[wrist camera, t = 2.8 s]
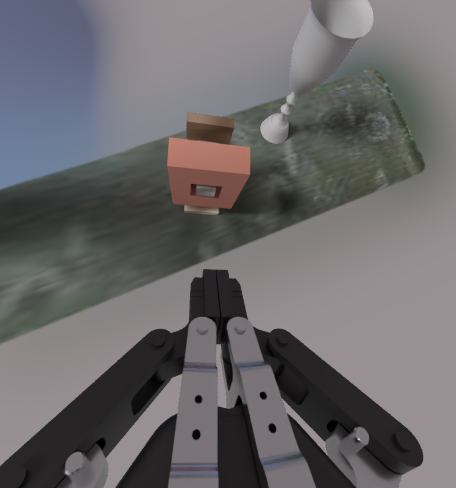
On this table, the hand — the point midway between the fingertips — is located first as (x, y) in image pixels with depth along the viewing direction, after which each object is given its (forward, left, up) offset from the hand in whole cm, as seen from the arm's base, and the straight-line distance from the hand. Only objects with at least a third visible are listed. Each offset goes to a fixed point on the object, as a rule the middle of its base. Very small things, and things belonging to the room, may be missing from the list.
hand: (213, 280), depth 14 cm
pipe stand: (0, +14, -19) cm, 24 cm away
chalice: (+12, +27, -19) cm, 35 cm away
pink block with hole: (0, +12, -16) cm, 20 cm away
